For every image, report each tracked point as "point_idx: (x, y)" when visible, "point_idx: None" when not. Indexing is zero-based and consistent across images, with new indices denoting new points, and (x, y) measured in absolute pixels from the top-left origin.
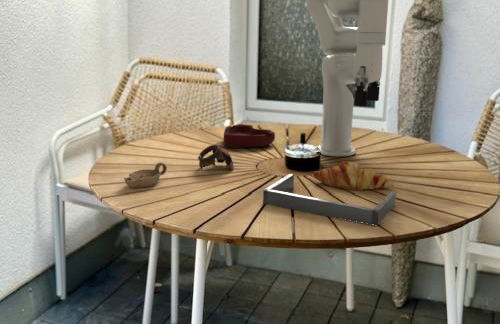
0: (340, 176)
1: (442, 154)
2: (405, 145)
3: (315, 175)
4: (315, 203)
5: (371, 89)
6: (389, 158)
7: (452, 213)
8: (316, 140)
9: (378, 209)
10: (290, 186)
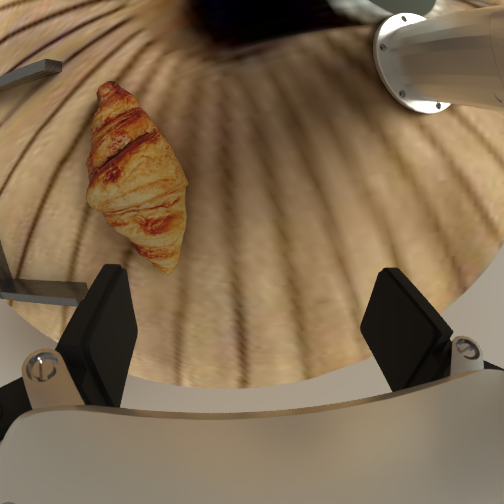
0: (88, 171)
1: (449, 285)
2: (491, 213)
3: (97, 94)
4: None
5: (410, 344)
6: (411, 200)
7: None
8: None
9: (4, 297)
10: (43, 75)
